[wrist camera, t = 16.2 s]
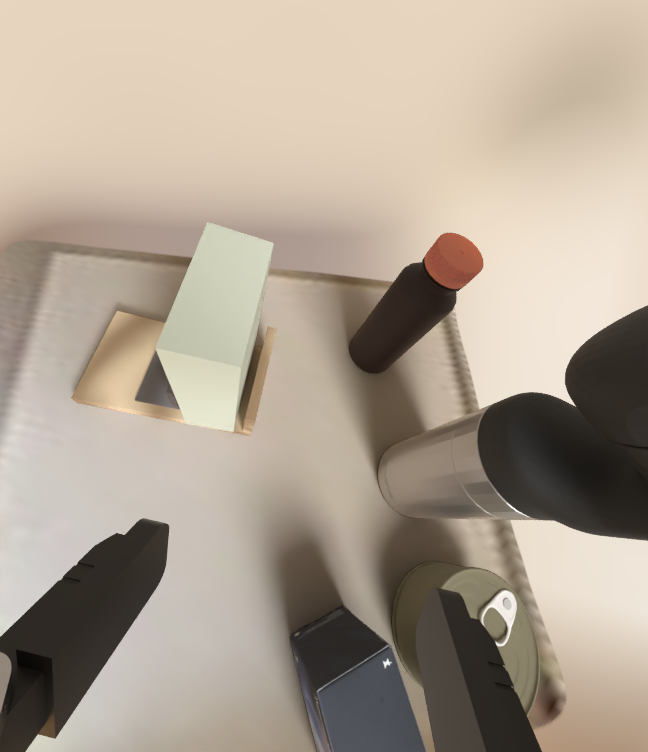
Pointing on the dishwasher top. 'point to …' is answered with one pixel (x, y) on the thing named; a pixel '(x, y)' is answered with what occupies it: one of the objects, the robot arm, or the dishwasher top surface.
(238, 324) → the book
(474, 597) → the can
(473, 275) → the bottle
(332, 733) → the small box
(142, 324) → the rack
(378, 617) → the dishwasher top surface
